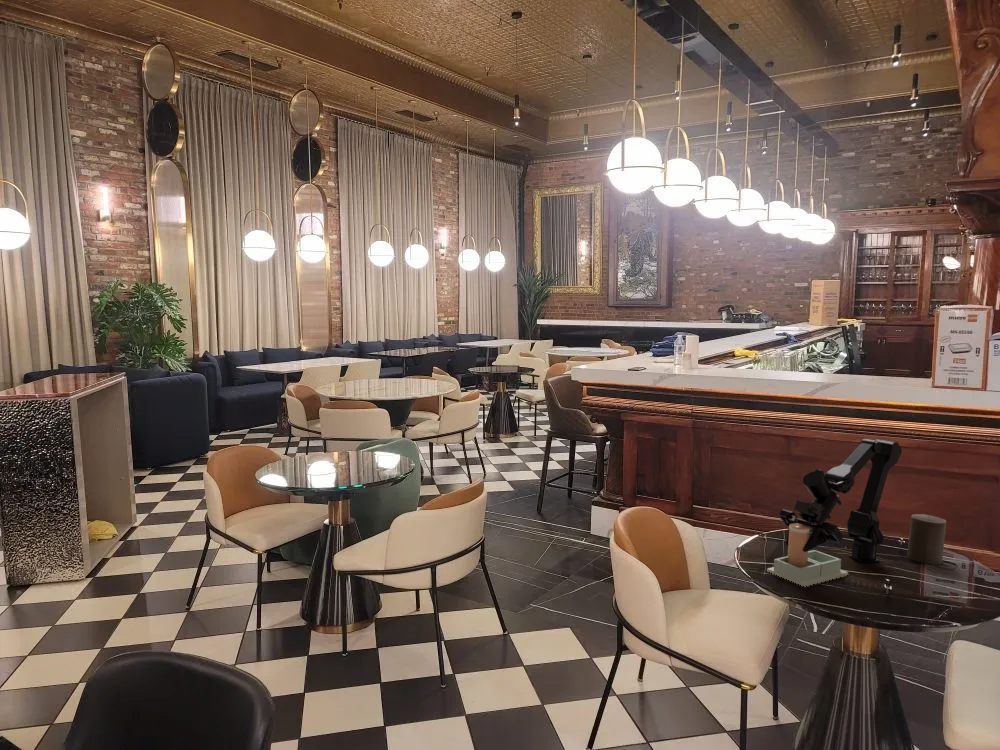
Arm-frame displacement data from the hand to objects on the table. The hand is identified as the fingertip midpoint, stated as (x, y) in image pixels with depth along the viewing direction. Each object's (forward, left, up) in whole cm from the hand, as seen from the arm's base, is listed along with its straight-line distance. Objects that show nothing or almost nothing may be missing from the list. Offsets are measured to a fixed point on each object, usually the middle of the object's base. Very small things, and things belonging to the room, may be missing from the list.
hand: (795, 548), depth 204 cm
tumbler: (-1, 0, -7) cm, 7 cm away
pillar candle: (-53, -5, -9) cm, 54 cm away
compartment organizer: (-6, -2, -9) cm, 11 cm away
